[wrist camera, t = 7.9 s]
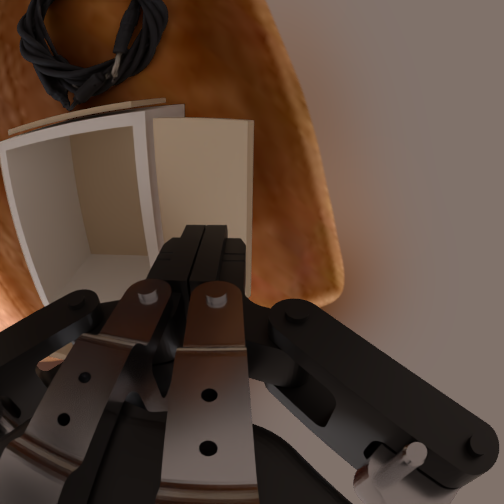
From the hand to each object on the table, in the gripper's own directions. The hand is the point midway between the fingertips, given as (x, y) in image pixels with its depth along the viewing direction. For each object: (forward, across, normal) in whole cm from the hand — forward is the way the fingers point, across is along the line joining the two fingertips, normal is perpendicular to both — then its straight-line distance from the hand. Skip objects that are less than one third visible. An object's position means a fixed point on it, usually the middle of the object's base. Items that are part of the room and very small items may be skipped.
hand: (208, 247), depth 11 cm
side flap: (+5, +1, 0) cm, 5 cm away
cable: (+18, +14, -15) cm, 27 cm away
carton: (+17, +11, +3) cm, 20 cm away
